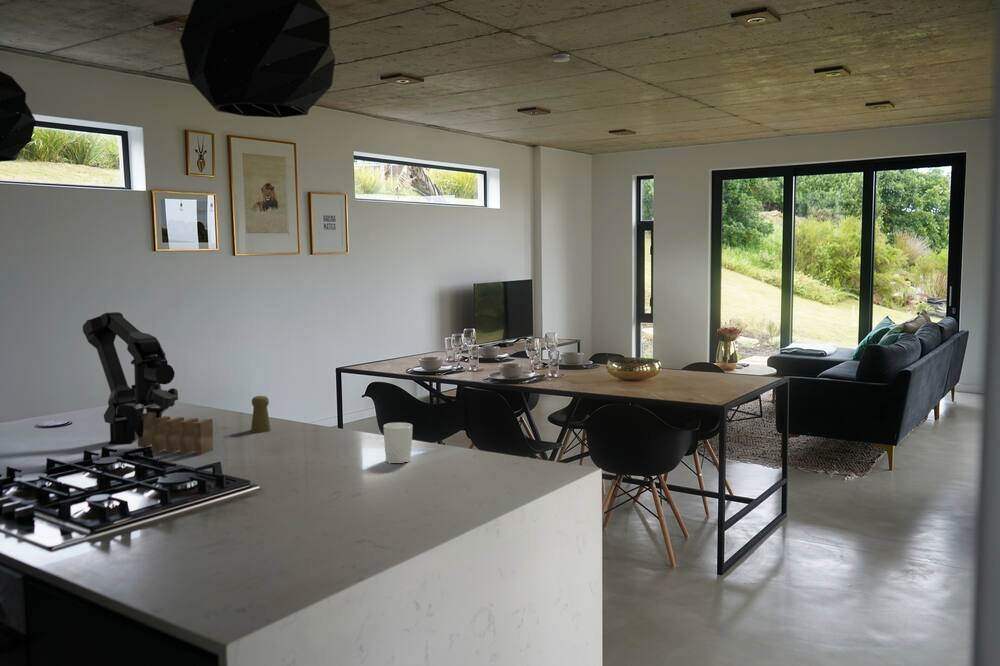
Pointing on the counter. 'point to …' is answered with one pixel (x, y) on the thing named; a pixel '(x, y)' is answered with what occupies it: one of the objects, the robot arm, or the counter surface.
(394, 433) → the white cup
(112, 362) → the robot arm
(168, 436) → the walnut domino
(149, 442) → the walnut domino
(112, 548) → the counter surface
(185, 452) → the walnut domino
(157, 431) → the walnut domino
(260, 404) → the olive yellow rounded piece
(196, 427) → the walnut domino
